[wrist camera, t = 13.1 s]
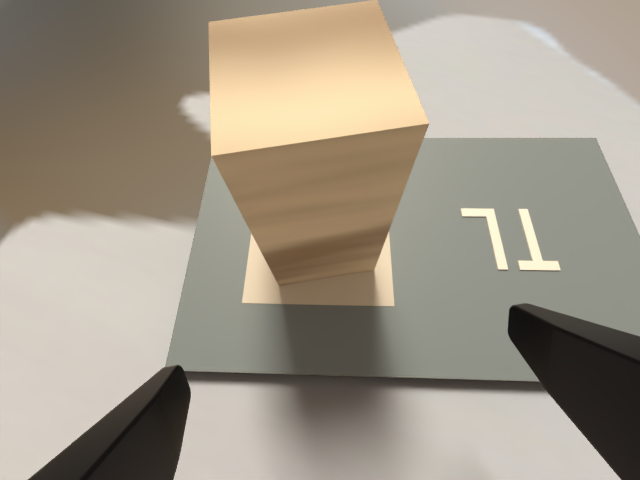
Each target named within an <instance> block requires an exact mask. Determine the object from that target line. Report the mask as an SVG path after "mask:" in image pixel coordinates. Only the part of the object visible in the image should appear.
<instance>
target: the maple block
mask: <svg viewBox="0 0 640 480" xmlns="http://www.w3.org/2000/svg"><path fill="white" fill-rule="evenodd" d="M209 64H210V118H211V156H212V158H213V160H214V162H215V164H216V166H217V168H218V170H219V172H220V174H221V176H222V178H223V180H224V181H225V183H226V185H227V187H228V189H229V191H230V193H231V195H232V197H233V199H234V201H235V203H236V205H237V206H238V208H239V210H240V212H241V214H242V216H243V218H244V220H245V222H246V224H247V226H248V228H249V230H250V232H251V233H252V235H253V237H254V239H255V241H256V243H257V245H258V247H259V249H260V251H261V253H262V255H263V257H264V258H265V260H266V262H267V264H268V266H269V268H270V270H271V272H272V274H273V276H274V278H275V280H276V282H277V284H278V285H279V286H282V285H288V284H294V283H300V282H306V281H312V280H318V279H324V278H330V277H336V276H342V275H348V274H354V273H360V272H366V271H372V270H375V267H376V264H377V262H378V259H379V256H380V254H381V251H382V248H383V246H384V243H385V240H386V238H387V235H388V232H389V230H390V227H391V224H392V222H393V219H394V216H395V214H396V211H397V208H398V206H399V203H400V200H401V197H402V195H403V192H404V189H405V187H406V184H407V181H408V179H409V176H410V173H411V171H412V168H413V165H414V163H415V160H416V157H417V155H418V152H419V149H420V147H421V144H422V141H423V139H424V136H425V133H426V131H427V128H428V125H429V122H428V119H427V117H426V115H425V112H424V110H423V108H422V105H421V103H420V100H419V98H418V96H417V93H416V91H415V89H414V86H413V84H412V81H411V79H410V77H409V74H408V72H407V70H406V67H405V65H404V63H403V60H402V58H401V55H400V53H399V51H398V48H397V46H396V44H395V41H394V39H393V36H392V34H391V32H390V29H389V27H388V25H387V22H386V20H385V17H384V15H383V13H382V10H381V8H380V6H379V3H378V1H377V0H372V1H366V2H357V3H350V4H342V5H335V6H328V7H319V8H312V9H305V10H296V11H289V12H281V13H274V14H266V15H259V16H251V17H243V18H236V19H228V20H221V21H213V22H209Z"/></svg>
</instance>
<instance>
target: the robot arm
mask: <svg viewBox="0 0 640 480" xmlns="http://www.w3.org/2000/svg"><path fill="white" fill-rule="evenodd" d="M508 335H509V338H510V340H511V341H512V343H513V344H514V346H515V347H516V348H517V350H518V351H519V353H520V354H521V356H522V357H523V358H524V360H525V361H526V363H527V364H528V366H529V367H530V368H531V370H532V371H533V373H534V374H535V376H536V377H537V378H538V380H539V381H540V383H541V384H542V385H543V387H544V388H545V389H546V391H547V392H548V393H549V394H550V396H551V397H552V398H553V399H554V400H555V402H556V403H557V404H558V405H559V406H560V408H561V409H562V410H563V411H564V412H565V413H566V415H567V416H568V417H569V418H570V419H571V421H572V422H573V423H574V424H575V425H576V427H577V428H578V429H579V430H580V431H581V432H582V434H583V435H584V436H585V437H586V438H587V440H588V441H589V442H590V443H591V444H592V445H593V447H594V448H595V449H596V450H597V451H598V453H599V454H600V455H601V456H602V457H603V459H604V460H605V461H606V462H607V463H608V464H609V466H610V467H611V468H612V469H613V470H614V472H615V473H616V474H617V475H618V476H619V477H620V479H621V480H640V336H637V335H634V334H630V333H627V332H624V331H620V330H617V329H613V328H610V327H607V326H603V325H600V324H596V323H593V322H590V321H586V320H583V319H579V318H576V317H573V316H569V315H566V314H562V313H559V312H556V311H552V310H549V309H545V308H542V307H539V306H535V305H532V304H528V303H522V304H517V305H512V306H511V307H510V309H509V317H508ZM190 398H191V391H190V387H189V384H188V381H187V378H186V375H185V373H184V370H183V368H182V366H180V365H173V366H167V367H164V368H162V369H161V370H160V371H159V372H158V373H156V374H155V375H154V376H153V377H151V378H150V379H149V380H148V381H147V382H145V383H144V384H143V385H142V386H141V387H139V388H138V389H137V390H136V391H135V392H133V393H132V394H131V395H130V396H129V397H127V398H126V399H125V400H124V401H122V402H121V403H120V404H119V405H118V406H116V407H115V408H114V409H113V410H112V411H110V412H109V413H108V414H107V415H106V416H104V417H103V418H102V419H101V420H100V421H98V422H97V423H96V424H95V425H93V426H92V427H91V428H90V429H89V430H87V431H86V432H85V433H84V434H83V435H81V436H80V437H79V438H78V439H77V440H75V441H74V442H73V443H72V444H71V445H69V446H68V447H67V448H66V449H64V450H63V451H62V452H61V453H60V454H58V455H57V456H56V457H55V458H54V459H52V460H51V461H50V462H49V463H48V464H46V465H45V466H44V467H43V468H42V469H40V470H39V471H38V472H37V473H35V474H34V475H33V476H32V477H31V478H29V479H28V480H173V479H174V475H175V472H176V468H177V464H178V461H179V456H180V452H181V447H182V441H183V436H184V431H185V425H186V420H187V414H188V409H189V404H190Z"/></svg>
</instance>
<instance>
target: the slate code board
mask: <svg viewBox="0 0 640 480" xmlns="http://www.w3.org/2000/svg"><path fill="white" fill-rule="evenodd" d="M522 303H528V304H532V305H535V306H539V307H542V308H545V309H549V310H552V311H556V312H559V313H562V314H566V315H569V316H573V317H576V318H579V319H583V320H586V321H590V322H593V323H596V324H600V325H603V326H607V327H610V328H613V329H617V330H620V331H624V332H627V333H630V334H634V335H637V336H640V235H639V233H638V231H637V229H636V227H635V224H634V222H633V220H632V218H631V215H630V213H629V211H628V209H627V206H626V204H625V202H624V200H623V198H622V195H621V193H620V191H619V189H618V186H617V184H616V182H615V180H614V178H613V175H612V173H611V171H610V169H609V166H608V164H607V162H606V160H605V157H604V155H603V153H602V151H601V149H600V146H599V144H598V142H597V140H596V138H424V139H423V141H422V144H421V147H420V149H419V152H418V155H417V157H416V160H415V163H414V165H413V168H412V171H411V173H410V176H409V179H408V181H407V184H406V187H405V189H404V192H403V195H402V197H401V200H400V203H399V206H398V208H397V211H396V214H395V216H394V219H393V222H392V224H391V227H390V230H389V232H388V235H387V238H386V240H385V243H384V246H383V248H382V251H381V254H380V256H379V259H378V262H377V264H376V267H375V270H372V271H366V272H360V273H354V274H348V275H342V276H336V277H330V278H324V279H318V280H312V281H306V282H300V283H294V284H288V285H282V286H279V285H278V284H277V282H276V280H275V278H274V276H273V274H272V272H271V270H270V268H269V266H268V264H267V262H266V260H265V258H264V257H263V255H262V253H261V251H260V249H259V247H258V245H257V243H256V241H255V239H254V237H253V235H252V233H251V232H250V230H249V228H248V226H247V224H246V222H245V220H244V218H243V216H242V214H241V212H240V210H239V208H238V206H237V205H236V203H235V201H234V199H233V197H232V195H231V193H230V191H229V189H228V187H227V185H226V183H225V181H224V180H223V178H222V176H221V174H220V172H219V170H218V168H217V166H216V164H215V162H214V160H213V158H212V157H211V162H210V167H209V171H208V176H207V180H206V184H205V189H204V194H203V198H202V203H201V207H200V212H199V216H198V221H197V225H196V230H195V234H194V239H193V243H192V248H191V253H190V257H189V262H188V266H187V271H186V275H185V280H184V284H183V289H182V293H181V298H180V303H179V307H178V312H177V316H176V321H175V325H174V330H173V334H172V339H171V343H170V348H169V352H168V357H167V362H166V366H165V367H167V366H173V365H180V366H182V368H183V370H184V371H191V372H225V373H259V374H293V375H327V376H361V377H395V378H429V379H463V380H497V381H531V382H540V381H539V380H538V378H537V377H536V376H535V374H534V373H533V371H532V370H531V368H530V367H529V366H528V364H527V363H526V361H525V360H524V358H523V357H522V356H521V354H520V353H519V351H518V350H517V348H516V347H515V346H514V344H513V343H512V341H511V340H510V338H509V335H508V317H509V309H510V307H511V306H512V305H517V304H522Z"/></svg>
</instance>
